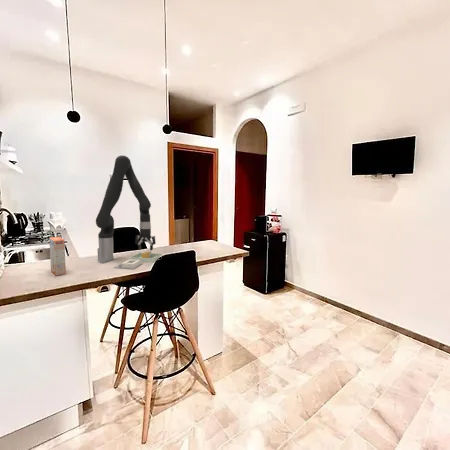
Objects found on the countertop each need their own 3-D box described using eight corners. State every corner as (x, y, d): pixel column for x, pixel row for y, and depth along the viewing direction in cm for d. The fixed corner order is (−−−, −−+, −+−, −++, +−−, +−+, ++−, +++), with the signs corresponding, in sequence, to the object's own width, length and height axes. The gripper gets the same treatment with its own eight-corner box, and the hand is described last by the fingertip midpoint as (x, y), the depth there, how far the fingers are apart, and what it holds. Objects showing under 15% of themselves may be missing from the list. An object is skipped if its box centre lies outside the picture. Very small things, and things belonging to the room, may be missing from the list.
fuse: (147, 257, 197) (141, 260, 187) (147, 250, 196) (141, 253, 186) (151, 257, 196) (145, 260, 186) (151, 250, 196) (145, 253, 186)
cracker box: (66, 274, 155) (64, 239, 152) (54, 276, 151) (52, 240, 148) (61, 268, 165) (60, 236, 162) (50, 270, 161) (48, 237, 158)
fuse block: (112, 269, 166) (112, 263, 165) (124, 263, 180) (124, 258, 179) (133, 271, 164) (133, 264, 164) (143, 265, 178) (143, 259, 177)
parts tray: (128, 262, 184) (128, 257, 183) (139, 256, 199) (139, 252, 199) (152, 263, 181) (152, 258, 181) (161, 258, 197) (161, 253, 196)
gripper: (133, 228, 184) (133, 250, 186) (152, 228, 183) (152, 251, 185) (138, 226, 192) (138, 248, 194) (156, 227, 190) (157, 249, 192)
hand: (145, 250), depth 189 cm, fingers open, 8 cm apart
